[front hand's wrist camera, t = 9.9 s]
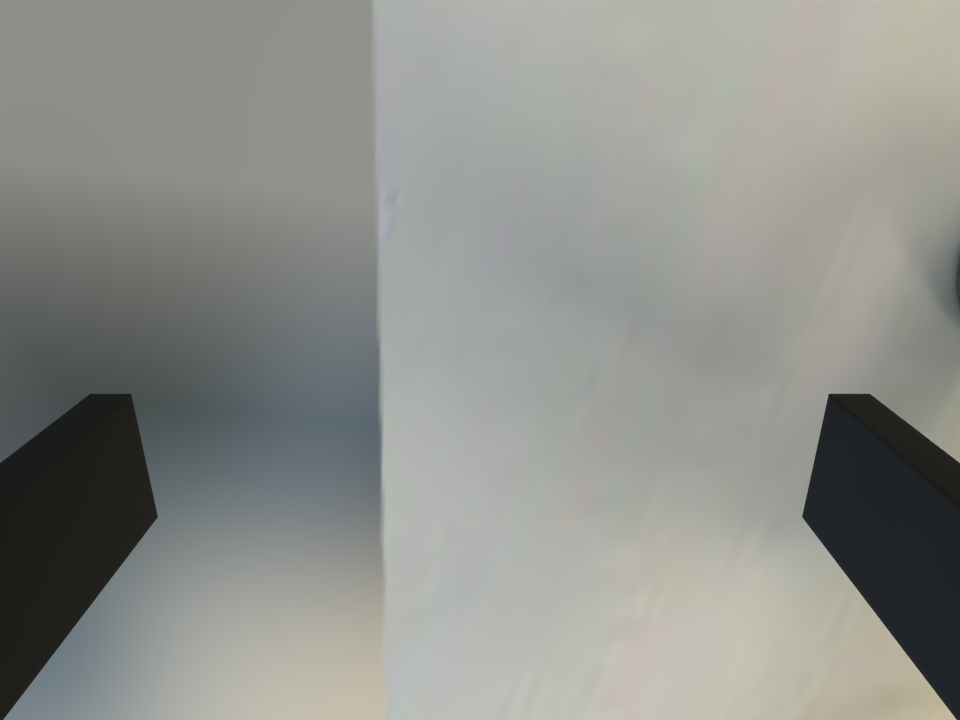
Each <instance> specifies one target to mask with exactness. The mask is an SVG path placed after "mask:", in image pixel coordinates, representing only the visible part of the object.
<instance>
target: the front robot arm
mask: <svg viewBox="0 0 960 720" xmlns="http://www.w3.org/2000/svg"><path fill="white" fill-rule="evenodd" d="M957 295H958V302H959V307H960V261H959V266H958V274H957ZM157 517H158V516H157V511H156V507H155V502H154V498H153V493H152V488H151V484H150V479H149V474H148V470H147V465H146V461H145V456H144V451H143V447H142V442H141V437H140V433H139V428H138V424H137V419H136V415H135V410H134V405H133V401H132V396H131V394H90V395H88V396H87V397H86V398H84V399H83V400H82V401H81V402H79V403H78V404H77V405H75V406H74V407H73V408H71V409H70V410H69V411H68V412H66V413H65V414H64V415H62V416H61V417H60V418H58V419H57V420H56V421H55V422H53V423H52V424H51V425H49V426H48V427H47V428H45V429H44V430H43V431H42V432H40V433H39V434H38V435H36V436H35V437H34V438H32V439H31V440H30V441H29V442H27V443H26V444H25V445H23V446H22V447H21V448H19V449H18V450H17V451H16V452H14V453H13V454H12V455H10V456H9V457H8V458H6V459H5V460H4V461H3V462H1V463H0V720H3V719H4V718H5V717H6V715H7V714H8V713H9V711H10V710H11V709H12V707H13V706H14V705H15V703H16V702H17V701H18V700H19V698H20V697H21V696H22V694H23V693H24V692H25V690H26V689H27V688H28V686H29V685H30V684H31V683H32V681H33V680H34V679H35V677H36V676H37V675H38V673H39V672H40V671H41V669H42V668H43V667H44V665H45V664H46V663H47V661H48V660H49V659H50V658H51V656H52V655H53V654H54V652H55V651H56V650H57V648H58V647H59V646H60V644H61V643H62V642H63V641H64V639H65V638H66V637H67V635H68V634H69V633H70V631H71V630H72V629H73V627H74V626H75V625H76V624H77V622H78V621H79V620H80V618H81V617H82V616H83V614H84V613H85V612H86V610H87V609H88V608H89V606H90V605H91V604H92V603H93V601H94V600H95V599H96V597H97V596H98V595H99V593H100V592H101V591H102V589H103V588H104V587H105V585H106V584H107V583H108V581H109V580H110V579H111V578H112V576H113V575H114V574H115V572H116V571H117V570H118V568H119V567H120V566H121V564H122V563H123V562H124V561H125V559H126V558H127V557H128V555H129V554H130V553H131V551H132V550H133V549H134V547H135V546H136V545H137V543H138V542H139V541H140V540H141V538H142V537H143V536H144V534H145V533H146V532H147V530H148V529H149V528H150V526H151V525H152V524H153V522H154V521H155V520H156V519H157ZM802 517H803V519H804V520H805V521H806V523H807V524H808V525H809V526H810V528H811V529H812V530H813V532H814V533H815V534H816V536H817V537H818V538H819V540H820V541H821V542H822V544H823V545H824V546H825V547H826V549H827V550H828V551H829V553H830V554H831V555H832V557H833V558H834V559H835V561H836V562H837V563H838V565H839V566H840V567H841V568H842V570H843V571H844V572H845V574H846V575H847V576H848V578H849V579H850V580H851V582H852V583H853V584H854V585H855V587H856V588H857V589H858V591H859V592H860V593H861V595H862V596H863V597H864V599H865V600H866V601H867V603H868V604H869V605H870V606H871V608H872V609H873V610H874V612H875V613H876V614H877V616H878V617H879V618H880V620H881V621H882V622H883V624H884V625H885V626H886V627H887V629H888V630H889V631H890V633H891V634H892V635H893V637H894V638H895V639H896V641H897V642H898V643H899V645H900V646H901V647H902V648H903V650H904V651H905V652H906V654H907V655H908V656H909V658H910V659H911V660H912V662H913V663H914V664H915V665H916V667H917V668H918V669H919V671H920V672H921V673H922V675H923V676H924V677H925V679H926V680H927V681H928V683H929V684H930V685H931V686H932V688H933V689H934V690H935V692H936V693H937V694H938V696H939V697H940V698H941V700H942V701H943V702H944V704H945V705H946V706H947V707H948V709H949V710H950V711H951V713H952V714H953V715H954V717H955V718H956V719H957V720H960V463H959V462H957V461H956V460H955V459H954V458H952V457H951V456H950V455H948V454H947V453H946V452H944V451H943V450H942V449H941V448H939V447H938V446H937V445H935V444H934V443H933V442H931V441H930V440H929V439H928V438H926V437H925V436H924V435H922V434H921V433H920V432H918V431H917V430H916V429H915V428H913V427H912V426H911V425H909V424H908V423H907V422H905V421H904V420H903V419H902V418H900V417H899V416H898V415H896V414H895V413H894V412H892V411H891V410H890V409H889V408H887V407H886V406H885V405H883V404H882V403H881V402H879V401H878V400H877V399H876V398H874V397H873V396H872V395H870V394H829V396H828V401H827V405H826V410H825V414H824V419H823V424H822V428H821V433H820V437H819V442H818V447H817V451H816V456H815V461H814V465H813V470H812V474H811V479H810V484H809V488H808V493H807V497H806V502H805V507H804V511H803V516H802Z"/></svg>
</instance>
